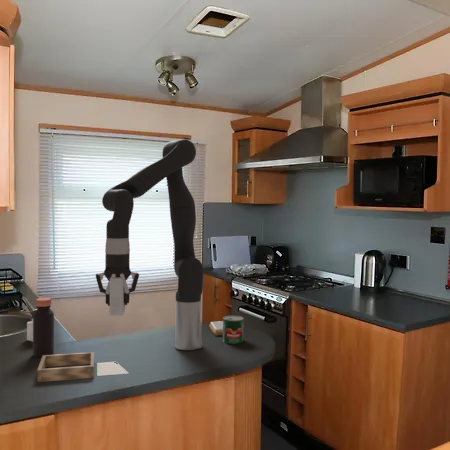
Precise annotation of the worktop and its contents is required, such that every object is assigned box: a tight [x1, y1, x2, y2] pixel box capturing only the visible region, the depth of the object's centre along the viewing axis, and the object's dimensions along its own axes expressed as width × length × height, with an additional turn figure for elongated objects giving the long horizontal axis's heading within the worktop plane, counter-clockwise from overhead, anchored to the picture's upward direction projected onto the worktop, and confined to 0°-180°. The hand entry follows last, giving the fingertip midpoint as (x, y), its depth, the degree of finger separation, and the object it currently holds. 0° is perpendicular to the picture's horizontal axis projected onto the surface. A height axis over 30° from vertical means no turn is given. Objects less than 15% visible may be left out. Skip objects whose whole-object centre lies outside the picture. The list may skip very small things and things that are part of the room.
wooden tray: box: [36, 351, 95, 383], centre depth 144 cm, size 16×14×4 cm
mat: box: [96, 361, 129, 377], centre depth 149 cm, size 12×12×1 cm
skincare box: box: [109, 277, 126, 317], centre depth 148 cm, size 6×4×12 cm
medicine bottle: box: [26, 308, 37, 343], centre depth 179 cm, size 7×7×12 cm
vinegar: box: [32, 297, 55, 359], centre depth 160 cm, size 7×7×20 cm
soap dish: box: [208, 320, 223, 336], centre depth 189 cm, size 12×10×5 cm
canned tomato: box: [222, 315, 245, 345], centre depth 176 cm, size 8×8×11 cm
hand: (117, 304), depth 148 cm, fingers closed on skincare box, 4 cm apart
